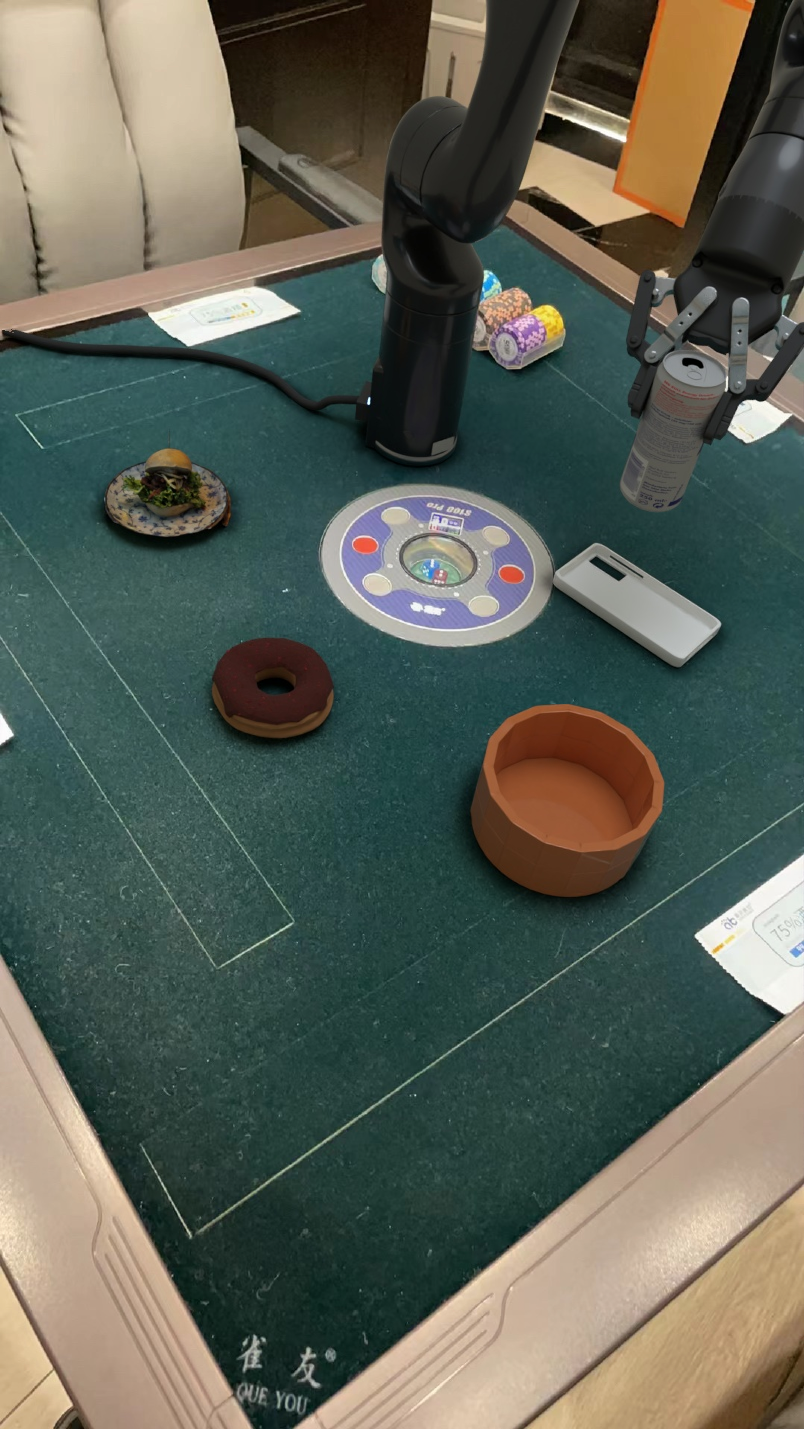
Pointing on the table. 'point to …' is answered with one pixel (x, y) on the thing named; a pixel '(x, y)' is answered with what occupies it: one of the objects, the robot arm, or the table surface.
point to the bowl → (565, 799)
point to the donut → (267, 711)
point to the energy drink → (672, 429)
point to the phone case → (638, 605)
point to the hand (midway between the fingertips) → (670, 427)
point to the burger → (167, 496)
